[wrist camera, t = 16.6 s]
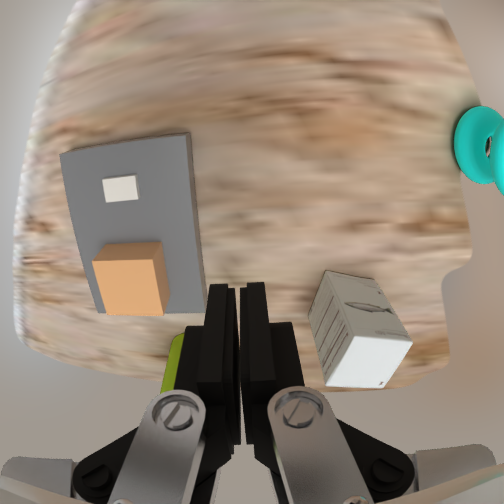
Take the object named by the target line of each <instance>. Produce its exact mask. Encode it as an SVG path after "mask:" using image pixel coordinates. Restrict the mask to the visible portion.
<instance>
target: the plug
mask: <svg viewBox="0 0 504 504" xmlns="http://www.w3.org/2000/svg"><path fill="white" fill-rule="evenodd" d="M92 264H93V268H94V272H95V275H96V279H97V283H98V286H99V290H100V293H101V296H102V300H103V303H104V306H105V309H106V313H107V315H139V316H164V313H165V310H166V307H167V303H168V300H169V297H170V290H169V284H168V279H167V273H166V267H165V261H164V254H163V248H162V242H144V243H122V244H106V245H105V246H104V247H103V248H102V249H101V251H100V252H99V253H98V254H97V255H96V257H95V258H94V259H93V260H92Z"/></svg>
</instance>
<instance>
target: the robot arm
mask: <svg viewBox="0 0 504 504" xmlns="http://www.w3.org/2000/svg"><path fill="white" fill-rule="evenodd" d="M240 382H241V394H242V404H243V414H244V423H245V433H246V442H247V444H254V454H255V458H256V459H257V460H258V461H260V462H261V463H262V464H264V465H265V466H267V467H268V473H269V477H270V480H271V484H272V488H273V492H274V496H275V499H276V502H277V504H504V463H502V464H499V465H496V461H495V457H494V455H493V453H492V451H490V449H488V447H485V446H483V445H481V444H472V445H465V446H458V447H450V448H442V449H432V450H419V451H416V452H415V453H414V454H404V453H403V452H402V451H400V450H398V449H396V448H394V447H392V446H390V445H387V444H385V443H383V442H381V441H379V440H377V439H375V438H373V437H371V436H369V435H367V434H365V433H363V432H361V431H359V430H358V429H356V428H354V427H352V426H350V425H348V424H346V423H344V422H342V421H341V420H338V419H337V418H336V417H335V415H334V413H333V411H332V408H331V406H330V404H329V402H328V400H327V399H326V398H325V396H324V395H323V394H321V393H320V392H319V391H317V390H315V389H312V388H310V387H305V384H304V379H303V374H302V369H301V364H300V359H299V355H298V350H297V345H296V340H295V335H294V330H293V326H292V323H291V322H279V323H269V318H268V309H267V301H266V293H265V284H264V282H253V283H247V287H244V288H240V347H239V335H238V322H237V310H236V297H235V288H228V284H210V287H209V294H208V300H207V307H206V314H205V321H204V326H187V327H186V329H185V333H184V338H183V343H182V347H181V352H180V357H179V362H178V367H177V372H176V378H175V383H174V388H173V390H171V391H166V392H164V393H161V394H159V395H157V396H156V397H155V398H154V399H153V400H152V401H151V402H150V404H149V405H148V406H147V408H146V411H145V413H144V415H143V418H142V420H141V423H140V425H139V427H137V428H135V429H134V430H132V431H130V432H129V433H127V434H125V435H124V436H122V437H120V438H119V439H117V440H115V441H114V442H112V443H110V444H109V445H107V446H105V447H103V448H102V449H100V450H98V451H97V452H95V453H93V454H91V455H89V456H88V457H86V458H84V459H83V460H82V461H80V462H74V461H73V460H72V459H46V458H30V457H13V458H11V459H9V460H8V461H7V462H6V463H5V464H4V466H3V468H2V471H1V475H0V504H214V502H215V497H216V492H217V488H218V483H219V478H220V474H221V466H223V465H224V464H225V463H227V462H228V461H229V460H230V459H231V454H234V445H240V444H241V407H240V406H241V404H240V403H241V401H240Z"/></svg>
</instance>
